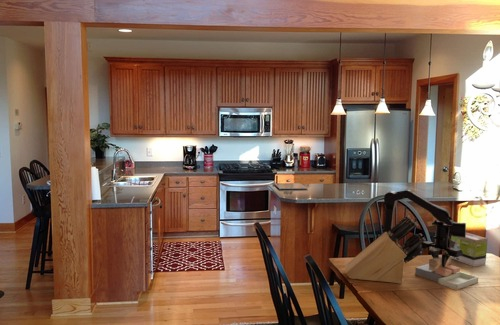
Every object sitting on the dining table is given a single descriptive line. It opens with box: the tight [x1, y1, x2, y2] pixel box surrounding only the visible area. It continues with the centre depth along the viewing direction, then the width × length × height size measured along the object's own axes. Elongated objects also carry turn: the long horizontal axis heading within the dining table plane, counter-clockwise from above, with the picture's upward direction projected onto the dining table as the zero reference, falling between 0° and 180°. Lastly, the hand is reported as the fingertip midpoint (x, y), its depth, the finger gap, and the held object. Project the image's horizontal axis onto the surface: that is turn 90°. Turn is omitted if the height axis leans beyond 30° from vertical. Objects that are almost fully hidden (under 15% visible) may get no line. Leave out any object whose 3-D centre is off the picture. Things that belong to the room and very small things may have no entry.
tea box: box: [450, 232, 488, 268], centre depth 228 cm, size 15×10×15 cm, turn 25°
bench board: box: [414, 263, 454, 283], centre depth 205 cm, size 14×13×4 cm
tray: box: [437, 271, 479, 291], centre depth 196 cm, size 18×9×2 cm, turn 123°
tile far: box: [444, 264, 461, 273], centre depth 202 cm, size 5×5×2 cm
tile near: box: [435, 267, 452, 276], centre depth 198 cm, size 5×5×2 cm
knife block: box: [344, 215, 427, 284], centre depth 199 cm, size 11×35×31 cm, turn 77°
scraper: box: [428, 255, 453, 271], centre depth 203 cm, size 14×3×5 cm, turn 124°
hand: (440, 266), depth 203 cm, fingers closed on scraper, 3 cm apart
